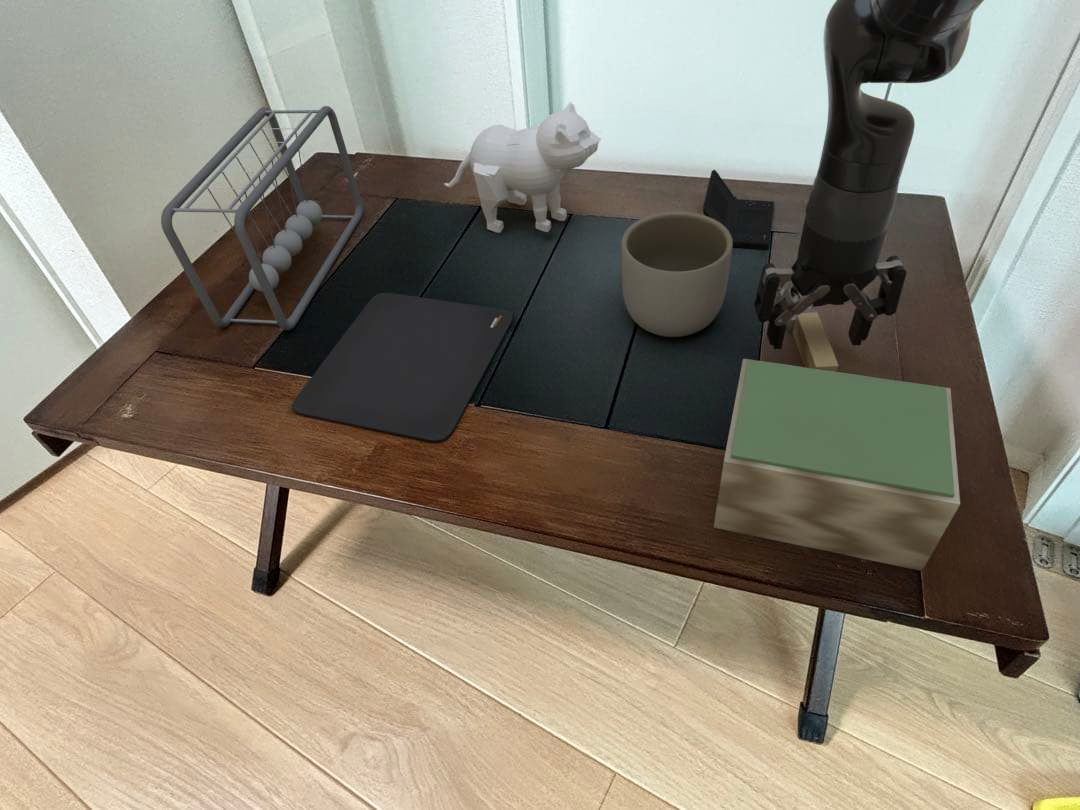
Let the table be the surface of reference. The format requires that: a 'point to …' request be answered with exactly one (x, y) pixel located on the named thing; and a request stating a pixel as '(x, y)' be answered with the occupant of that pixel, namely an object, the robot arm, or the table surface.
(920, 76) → the robot arm
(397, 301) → the mouse pad
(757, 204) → the handheld gaming console
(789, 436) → the green rectangular slab
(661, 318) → the planter
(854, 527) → the stand
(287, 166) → the newton's cradle
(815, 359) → the fork
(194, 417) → the table surface
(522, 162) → the cat figurine
